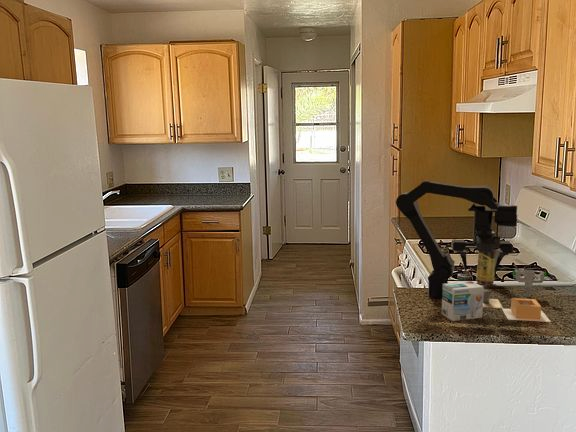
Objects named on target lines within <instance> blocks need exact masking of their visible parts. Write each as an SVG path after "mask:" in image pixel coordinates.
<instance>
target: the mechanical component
mask: <svg viewBox="0 0 576 432" xmlns="http://www.w3.org/2000/svg"><path fill="white" fill-rule="evenodd" d="M521 275H522V276H521ZM512 276H514V278H515V280H516V281H517V282H518V283H522V284H524V285H523V287H525V294H524V296H525V298H531V291H532V290H531V289H532V288H533V287H534V286H533V284H542V283H543V282H544V279H545V278H546V277H547V272H546V271H542V270H541V271H540V272H539V274H536V273H535V270H533V269H517V268H515V269H514V270H512Z"/></svg>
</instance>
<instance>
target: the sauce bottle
mask: <svg viewBox="0 0 576 432" xmlns="http://www.w3.org/2000/svg"><path fill="white" fill-rule="evenodd" d="M492 236H493V237H494V236H496V232H495V231H493V230H492ZM495 255H496V249H493V252H478V255H477V265H476V266H477V269H476V284H479V285H481V286H491V285H493V284H494V281H495V273H496V272H494V263H495Z"/></svg>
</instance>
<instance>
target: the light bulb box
mask: <svg viewBox="0 0 576 432" xmlns="http://www.w3.org/2000/svg"><path fill="white" fill-rule="evenodd" d="M484 290H485V288H484V285H482V284H478V283H477V282H475V281H473V280H468V281H461V282H460V281H459V282H448V283H447V284H443V291H442V298H441V314H440V315H442V316H444V317H445V318H447V319H448V320H450V321H451V322H450V323H451V324H459V322H457V321H462V320H463V321H465V320H472V319H473V320H474V319H480V318H481V319H482V318H483V308H484V307H483V294H484Z"/></svg>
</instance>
